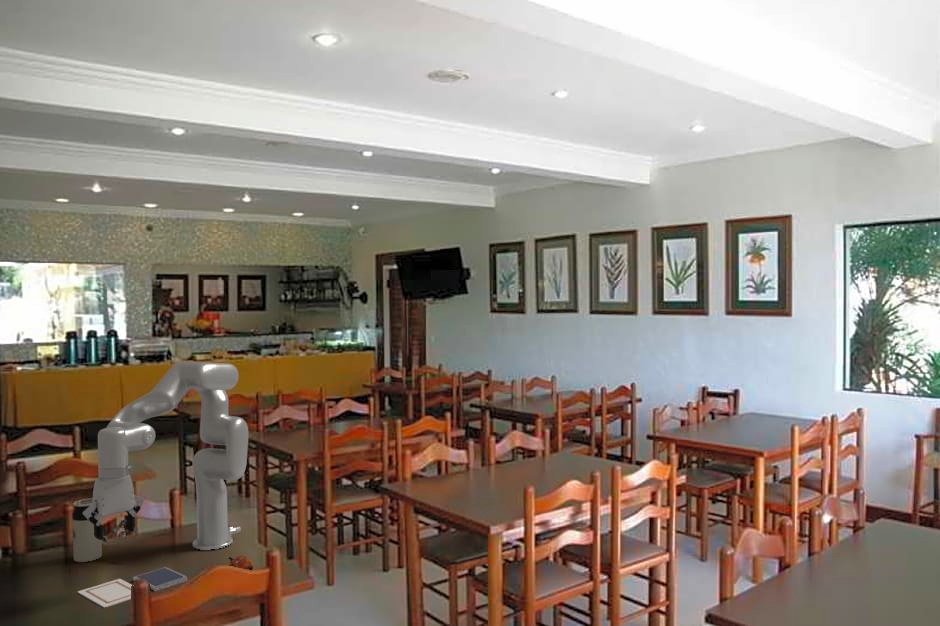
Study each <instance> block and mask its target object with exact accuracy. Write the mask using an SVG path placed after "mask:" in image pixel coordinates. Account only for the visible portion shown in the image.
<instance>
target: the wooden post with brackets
mask: <svg viewBox="0 0 940 626" xmlns="http://www.w3.org/2000/svg"><path fill="white" fill-rule="evenodd" d="M126 523H127V520H126V518H125V519H122V520H120V522H119V524H117V525H116V526H115V527H113V528H112V529H111V530H110V532H108V533H107V534H105V535H103V539H102V542H103V543H106V544H107V543H109V539H110V538H111V537H112V536H113V535H114V534H117V532H118V531H119V530H120V529H121V528H122V529H124V531H123V530H122V531H120V533H118V534H117V538H123V536H125V533H126V534H129V533H130V531H129V529H128V528H127V526H126Z"/></svg>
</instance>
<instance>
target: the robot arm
mask: <svg viewBox="0 0 940 626" xmlns="http://www.w3.org/2000/svg"><path fill="white" fill-rule="evenodd" d="M239 377H240V375H239V371H238V368H237V367H236V366H235V365H234V364H231V363H223V362H205V361H179V362H176V363H174V364H173V365H172V366H171V367H170V368H169V369H168V370H167V372H166V373H165V374H164V375H163V376H162V377H161V379H160V380H159V381H158V383H157V384H156V385H154V387H153V388H152V390H150V392H148V393H146V394H144V395H143V396H141V397H139V398H136V399H135V400H133V401H131V402H130V403H128V404H126V405H125V406H124V407H122V408H121V409H120V410H119V411H118V412H117V413H116V414H115V415H114V416H113V418H112V419H111V420H110V422H109V423H108V425H107V426H106V427H105V428H102V429H100V430H99V431H98V433H97V453H98V454H97V457H98V458H97V459H98V464H97V467H98V477H97V478H95V480H94V485H93V491H92V498H93V502H92V504H91V505H90V506H89V507H88V508H87V509H86V510H85V511H84V512H83V515H84V516H85V517H86V518H87V520H88V521H90V522H91V523H92V524H94V536H95V537H96V538H97V539H99V540H102V539H103V536H104V526H103V524H102V522H103V521H104V519H105V517H109V516H113V515H117V514H120V513H121V514H122V513H125V512H126V514H127V515H126V517H125V519H126V520H127V523H126V526H127V528H128V529H129V532H131V533H133V532H135V527H136V517H137V516H138V513H139V511H140V510H141V508H142V506H143V504H144V503H145V499H144V498H143V497H140V496H137V495H135V491H134V484H133V480H132V476H131V475H130V471H131V470H132V471H133V469H134V468H133V465H132V464H129V452H131V451H142V450H145V449H147V448H149V447H150V446H152V445H153V443H154V442H155V440H156V431H155V429H154V428H153V426H151V425H150V424H147V423H144V422H143V421H145V420H148V419H151V418H155V417H158V416H162V415H165V414H167V413H170V412H172V411H173V410H174V409H175V408H176V407H177V406H178V405H179V404H180V402H181V400H182V399H183V398H184V397H185V395H186V394H187V393H188V392H189V391H190V390H195V391H197V392H198V395H199V397H200V400H201V410H200V426H199V437H200V440H201V441H202V442H204V443H205V444H207V445H208V444H209V445H216V446H217V445H218V446H225V448H226V449H223V448H215V447H214V448H213V447H212V448H211V447H210V448H209V447H207V448H203V449H200V450H198V451H197V452H196V453H195V454H194V456H193V459H192V462H191V463H192V472H193V476H194V481H195V490H196V491H195V492H196V528H197V529H196V530H197V538H196V539H194V540H193V541H192V548H194V549H195V548H196V550H198V549H200V551H212V550H211V549H215V550H220V549H219V548H221V549H224V548H226V547H225V546H227V547H229V546H231V545H232V544H233V542H234V541H233V540H234V539H233V537H232V536H233V535H234V534H239V533H241V531H242V528H241V526H236V527H233V526H229V525H228V490H227V489H228V488H227V485H226V483H225V481H237V480H239V479H241V478H242V477H243V475H244V474H245V471H246V467H247V460H248V449H249V448H248V447H249V434H250V433H249V426H248V424H247V422H246V421H245V420H244V418H242V417H239V416H233V415H229V405H230V404H229V396H228V394H227V392H226V391H227V390H228V391H229V390H231V389H233V388H234V387H236V385H237V384H238V381H239ZM224 480H225V481H224ZM135 502H136V503H135ZM92 511H93V513H95V514H96V515H95V517H92V515H91V512H92ZM102 541H103V540H102ZM231 543H232V544H231ZM230 544H231V545H230ZM228 545H229V546H228ZM223 547H224V548H223Z"/></svg>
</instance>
